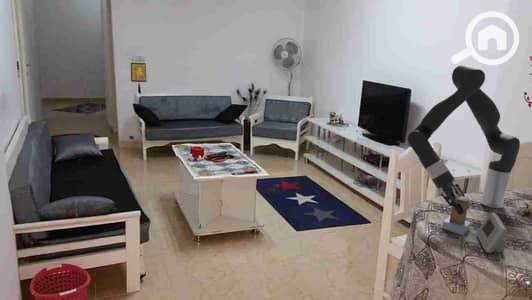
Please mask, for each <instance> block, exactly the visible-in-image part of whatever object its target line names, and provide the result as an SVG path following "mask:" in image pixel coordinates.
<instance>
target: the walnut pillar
mask: <svg viewBox="0 0 532 300" xmlns="http://www.w3.org/2000/svg"><path fill="white" fill-rule="evenodd" d="M457 200H458V203H459V204H460V206H461V207H462V209H463V210H464V213H462V214H458V212H457V211H456V209H455V208H454V206H451V211H450V215H449V217H450V221H449V222H452V223H456V224H459V225H462V224H463V223H464V222H465V221H466V218H467V213H468V210H469V209H468V206H469V203H470V200H471V199H470V198H469V197H466V196H465V197H462V196H459V195H457Z"/></svg>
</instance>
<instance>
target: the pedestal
mask: <svg viewBox="0 0 532 300" xmlns="http://www.w3.org/2000/svg"><path fill="white" fill-rule="evenodd" d="M449 221H450V216H448V217H447V218H446V219H444V221H443V222H442V226H441V228H442V229H443V230H447V231H449V232H452V233H454V234H458V235H461V236H464V235H465V234H466V233H468V231H469V230H470V229H471V228H470V227H471V223H472V222H471V221H468V220H465V222H464V223H463V224H462V225H459V224H456V223H452V222H449Z"/></svg>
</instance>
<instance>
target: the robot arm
mask: <svg viewBox="0 0 532 300" xmlns="http://www.w3.org/2000/svg"><path fill="white" fill-rule="evenodd" d="M485 80H486V74H485V72H484V71H483V70H482V69H480V68H478V67H474V66H471V65H466V64H461V65H458V66H456V67H455V68H454V69H453V71H452V73H451V81H452V84H453V86H455V88H456V89H457V90H456V91H455V92H454V93H452V94H451V95H449V96H448V97H446V98H445V99H444V100H442V101H439V102H438V103H436V104H435V105H434V106H433V107H431V108H430V110H428V112H427V113H426V114H425V115H424V117H423V118H422V120H421V121H420V123H419V124H418V125H417V127H416V128H415V129H414V130H412V131H410V132H409V133H408V135H407V138H406V139H407V140H406V141H407V144H408V146H409V147H410V148H411V149H412V150H413V152H414V153H415V154H416V156H417V157H418V159H419V162H420V163H421V165H422V166H423V168H424V169H425V171H426V174H427V175H428V177H429V178H430V180H431V181H432V183H433V184H434V186H435V187H436V189H442V191H443V192H441V194H440V195H441V197H442V198H443V199H444V200H445V202H446V203H447V204H448V206H449V207H452V206H454V208H455V209H456V211H457V212H458V214H462V213H464V210H463V209H462V207H461V206H460V204H459V203H458V200H457V195H459V196H462V197H466V195H465V194H464V192H463V190H462V189H461V187H460V185H459V184H458V183H456V184H455V183H453V181H455V177H454V175H453V174H452V172H451V171H450V170H449V168H448V167H447V165H446V164H445V162H444V161H442V159H441V158H440V156H439V155H438V153H437V152H436V151H435V149H434V148H433V147H432V145H431V143H430V141H429V139H430V138H431V137H432V135H433V134H434V133H435V132H436V131H437V130H438V129H439V128H440V127H441V125H443V123H444V122H445V121H446V120H447V118H448V117H449V116H450V115H452V114H453V112H454V111H455V110H457V109H458V108H459V107H460V106H461V105H462V104H463V103H465V102H466V104H467V106H468V108H469V109H470V111H471V113H472V115H473V117H474V118H475V120H476V122H477V123H478V125H479V127H480V129H481V130H482V133H483V134H484V137H485V139H486V142H487V144H488V147H489V149H490V150H491V151H492V152H493V153H495V154H498V155H500V156H501V157H500V159H499V160H498V159H497V160H491V161H489V163H488V168H487V171H486V176H485V182H484V186H483V191H482V195H481V199H480V203H481V204H482V205H484V206H486V207H488V208H492V209H502V208H503V207H504V203H505V198H506V196H507V195H506V194H507V190H508V186H509V182H510V178H511V174H512V170H513V168H514V167H515V163H516V160H517V157H518V155H519V151H520V146H521V143H520V139H519V138H518V137H516V136H513V135H509V134H506V133H503V132H502V131H501V129H500V128H499V126H498V125H499V123H500V119H501V113H500V111H499V109H498V107H497V105H496V103H495V102H494V100H493V99H492V98H490V97H489V95H488V94H486V93H485V92H484V90H482V89H481V88H482V86H483V84H484V83H485ZM469 209H470V206H469V205H468V209H467V210H469Z"/></svg>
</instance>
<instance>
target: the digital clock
mask: <svg viewBox="0 0 532 300" xmlns="http://www.w3.org/2000/svg"><path fill="white" fill-rule="evenodd" d="M507 233H508V229H507V228H506V226H505V224H504V223H503V221H502V219H501V218H500V217H499V216H498V214H497V213H496V212H490V213H489V214H488V215H487V217H486V219H485V220H484V221H483V223H482V224H481V225H480V227H479V228H478V230H476V236H477V237H478V239H479V242H480V243H481V245H482V247H483V249H484V251H485V252H486V253H487V254H492V253H493V252H497V253H504V252H505V249H506V248H505V247H506V243H507V242H506V240H505V238H504V237H505V236H506V235H507Z"/></svg>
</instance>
